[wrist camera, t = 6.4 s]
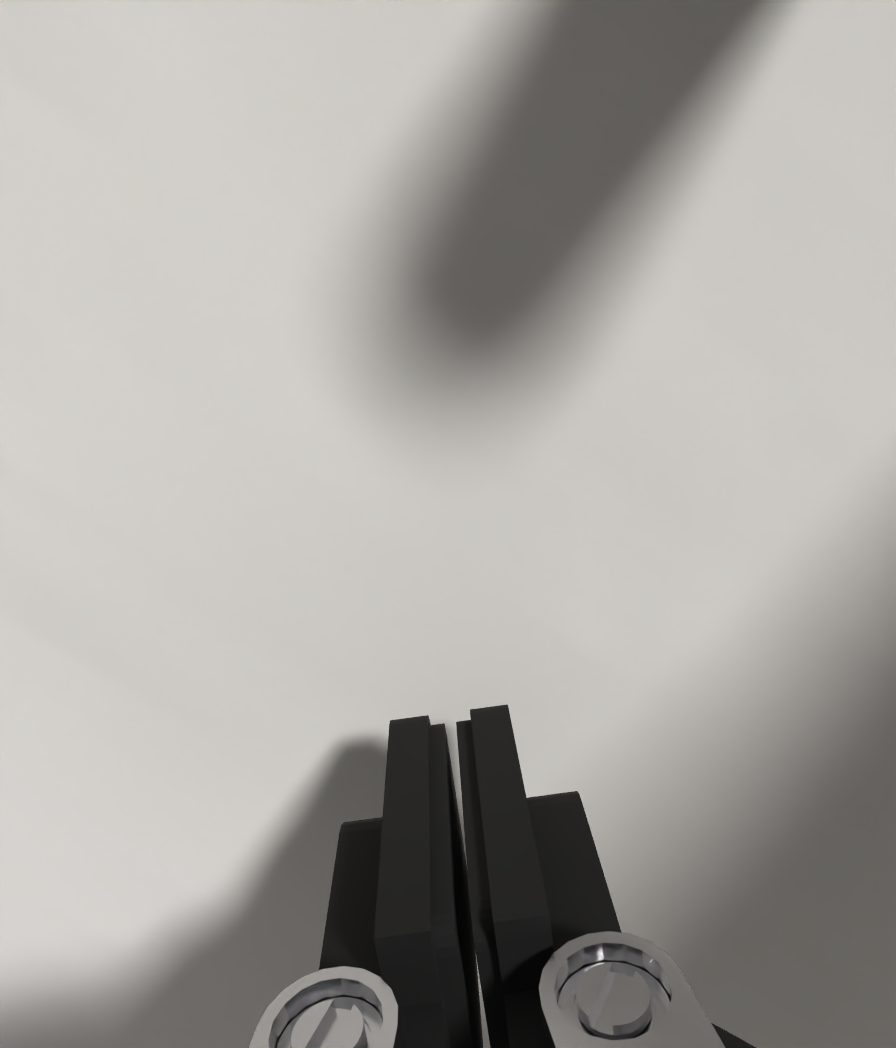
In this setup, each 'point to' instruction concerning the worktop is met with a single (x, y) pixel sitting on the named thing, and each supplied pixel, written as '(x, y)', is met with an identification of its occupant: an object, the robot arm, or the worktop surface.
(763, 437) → the worktop surface
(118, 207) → the worktop surface
